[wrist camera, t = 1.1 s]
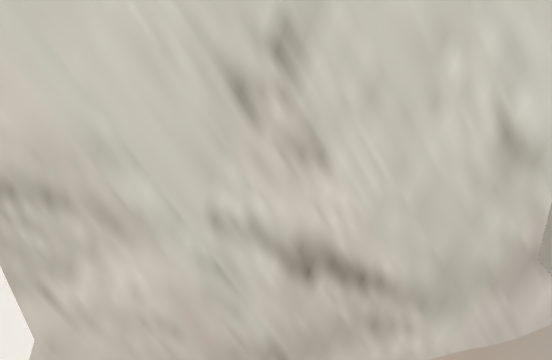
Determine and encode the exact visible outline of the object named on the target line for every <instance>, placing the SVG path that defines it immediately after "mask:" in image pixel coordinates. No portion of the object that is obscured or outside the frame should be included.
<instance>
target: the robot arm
mask: <svg viewBox="0 0 552 360" xmlns="http://www.w3.org/2000/svg"><path fill="white" fill-rule="evenodd" d="M538 261H539V262H540V263H541V264H542V265H543V266H544V267H545V269H546V270H547V271H548V272H549V273H550V274H551V275H552V204H551V208H550V212H549V216H548V220H547V224H546V228H545V231H544V235H543V239H542V243H541V247H540V251H539V255H538ZM33 344H34V338H33V336H32V334H31V332H30V330H29V327H28V325H27V323H26V321H25V319H24V317H23V314H22V312H21V310H20V308H19V306H18V304H17V301H16V299H15V297H14V295H13V293H12V290H11V288H10V286H9V284H8V282H7V280H6V277H5V275H4V273H3V271H2V269H1V266H0V360H29V358H30V354H31V351H32V348H33Z"/></svg>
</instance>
